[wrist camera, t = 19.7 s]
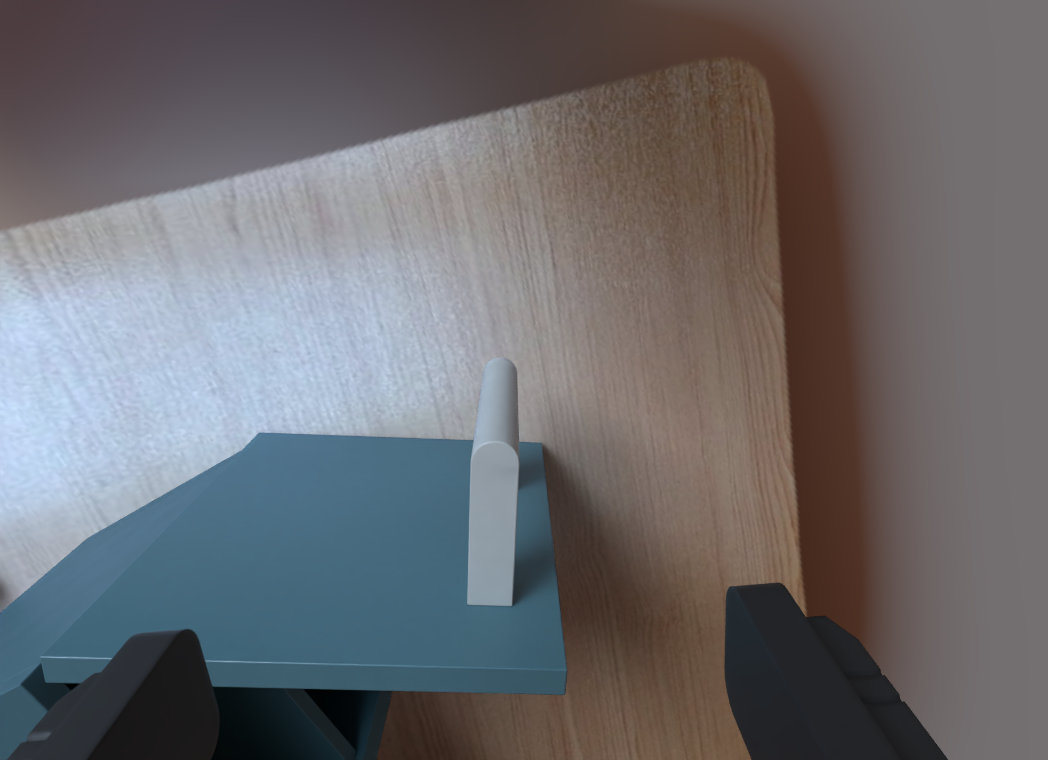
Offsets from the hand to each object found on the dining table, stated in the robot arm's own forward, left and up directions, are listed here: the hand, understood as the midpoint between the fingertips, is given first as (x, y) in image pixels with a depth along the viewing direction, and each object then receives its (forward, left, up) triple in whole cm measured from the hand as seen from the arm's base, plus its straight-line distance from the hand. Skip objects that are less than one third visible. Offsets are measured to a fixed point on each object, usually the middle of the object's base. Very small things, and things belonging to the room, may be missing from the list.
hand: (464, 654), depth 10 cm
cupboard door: (+1, -7, -26) cm, 27 cm away
